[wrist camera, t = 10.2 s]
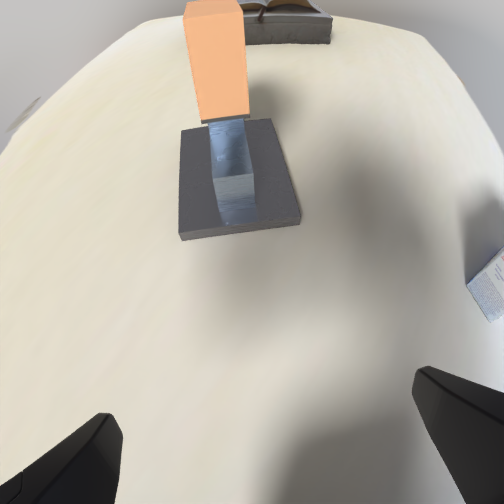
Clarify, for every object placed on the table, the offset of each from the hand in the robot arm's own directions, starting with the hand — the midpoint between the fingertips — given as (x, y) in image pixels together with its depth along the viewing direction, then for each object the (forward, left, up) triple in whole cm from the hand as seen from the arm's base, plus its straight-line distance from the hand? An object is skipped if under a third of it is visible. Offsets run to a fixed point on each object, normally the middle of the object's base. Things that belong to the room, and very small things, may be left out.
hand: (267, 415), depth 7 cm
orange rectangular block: (+16, +10, -2) cm, 19 cm away
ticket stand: (+18, +12, -13) cm, 25 cm away
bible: (+61, +27, -13) cm, 68 cm away
